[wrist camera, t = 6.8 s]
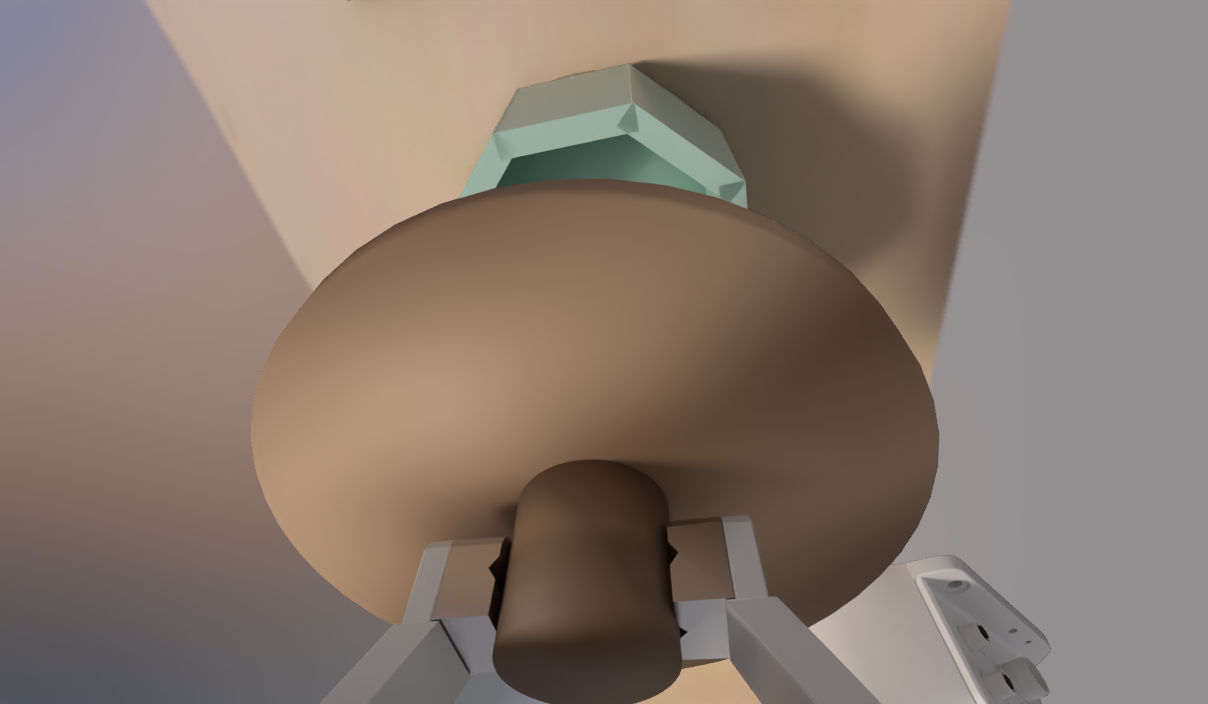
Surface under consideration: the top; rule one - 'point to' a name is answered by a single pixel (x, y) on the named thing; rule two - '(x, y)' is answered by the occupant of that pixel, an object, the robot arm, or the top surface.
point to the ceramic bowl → (607, 137)
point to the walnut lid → (593, 418)
